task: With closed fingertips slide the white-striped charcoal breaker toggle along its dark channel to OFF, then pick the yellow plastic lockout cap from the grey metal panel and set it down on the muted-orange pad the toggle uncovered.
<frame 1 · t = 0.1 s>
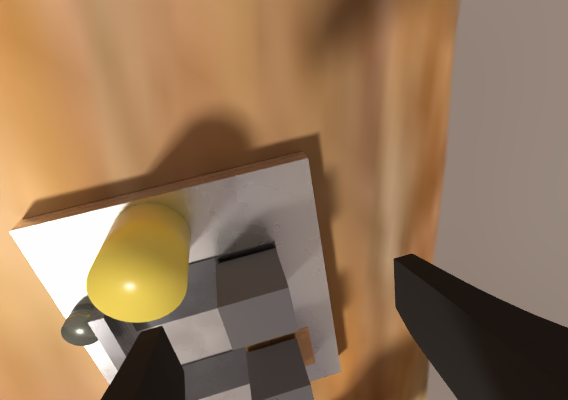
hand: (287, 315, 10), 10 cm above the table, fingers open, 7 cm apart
panel: (212, 304, 22), on the table
breaker B: (255, 296, 18), point 3 cm above the table, slide at 0.0 cm
breaker A: (280, 383, 22), point 3 cm above the table, slide at 0.0 cm
lockout cap: (151, 237, 18), point 1 cm above the table, touching panel
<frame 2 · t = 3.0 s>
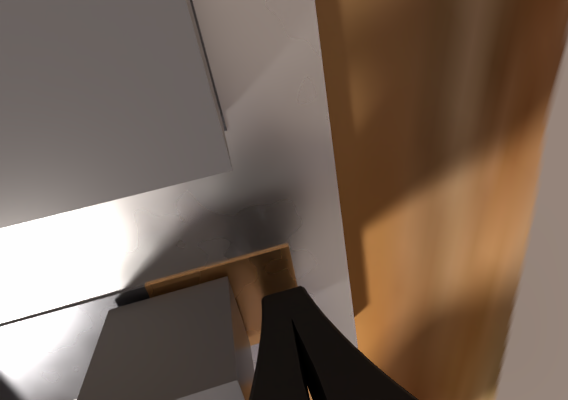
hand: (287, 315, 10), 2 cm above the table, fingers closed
panel: (63, 183, 10), on the table
breaker B: (103, 80, 6), point 3 cm above the table, slide at 0.0 cm
breaker A: (181, 379, 9), point 3 cm above the table, slide at 1.1 cm, touching gripper
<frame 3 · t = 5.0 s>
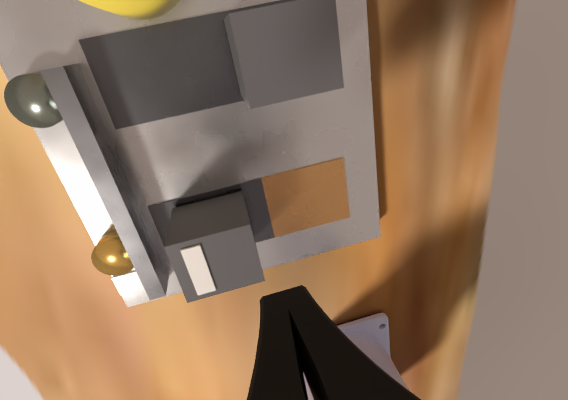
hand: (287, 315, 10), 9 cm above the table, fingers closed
panel: (218, 116, 17), on the table
breaker B: (280, 51, 13), point 3 cm above the table, slide at 0.0 cm
breaker A: (216, 243, 16), point 3 cm above the table, slide at 4.5 cm
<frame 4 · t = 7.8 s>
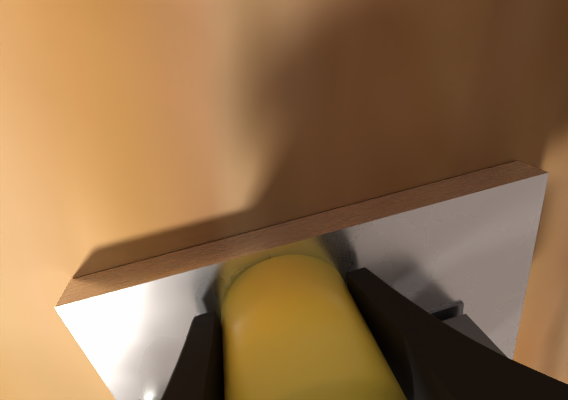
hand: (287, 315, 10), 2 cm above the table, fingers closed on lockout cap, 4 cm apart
panel: (338, 385, 15), on the table
breaker B: (450, 399, 11), point 3 cm above the table, slide at 0.0 cm
lockout cap: (285, 307, 11), point 1 cm above the table, touching gripper, panel
when the fingers open (3 cm above the table, at t = 10.9 s): lockout cap drops 1 cm, resting on panel.
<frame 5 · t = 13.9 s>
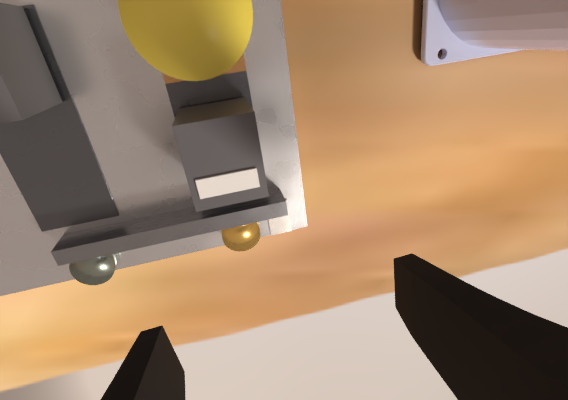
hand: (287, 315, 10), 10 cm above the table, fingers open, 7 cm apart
panel: (107, 120, 16), on the table
breaker A: (222, 151, 15), point 3 cm above the table, slide at 4.5 cm
lockout cap: (193, 19, 14), point 1 cm above the table, touching panel
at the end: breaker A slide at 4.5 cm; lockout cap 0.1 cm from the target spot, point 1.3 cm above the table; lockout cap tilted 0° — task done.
